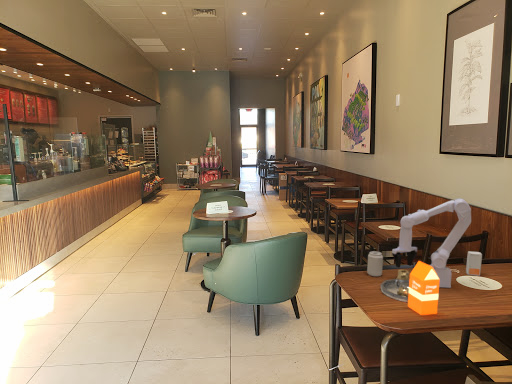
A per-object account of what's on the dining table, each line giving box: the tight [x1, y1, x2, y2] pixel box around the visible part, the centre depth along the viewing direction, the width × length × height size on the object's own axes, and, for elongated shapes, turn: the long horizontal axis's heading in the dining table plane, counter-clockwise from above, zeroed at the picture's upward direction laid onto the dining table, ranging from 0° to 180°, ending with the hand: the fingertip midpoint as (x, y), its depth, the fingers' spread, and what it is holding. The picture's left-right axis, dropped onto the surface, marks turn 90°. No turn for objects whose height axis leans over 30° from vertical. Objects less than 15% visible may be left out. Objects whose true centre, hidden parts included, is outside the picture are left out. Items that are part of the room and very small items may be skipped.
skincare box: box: [465, 251, 483, 277], centre depth 202 cm, size 6×4×12 cm
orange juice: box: [407, 260, 440, 316], centre depth 157 cm, size 8×9×20 cm
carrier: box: [380, 278, 409, 303], centre depth 176 cm, size 24×24×4 cm
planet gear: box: [395, 269, 410, 280], centre depth 192 cm, size 6×6×5 cm
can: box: [366, 250, 384, 277], centre depth 199 cm, size 8×8×12 cm
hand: (403, 266), depth 192 cm, fingers open, 7 cm apart
